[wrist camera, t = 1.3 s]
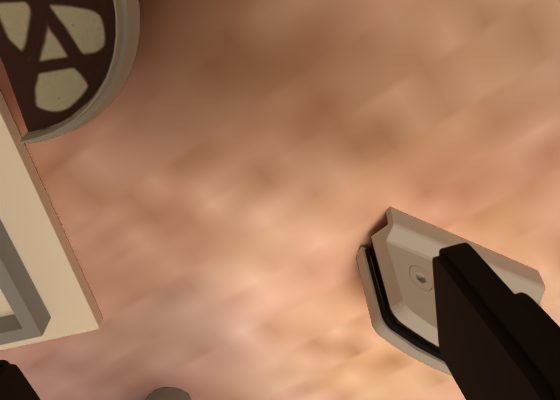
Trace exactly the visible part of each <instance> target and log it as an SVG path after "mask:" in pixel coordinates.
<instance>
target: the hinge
mask: <svg viewBox="0 0 560 400" xmlns="http://www.w3.org/2000/svg"><path fill="white" fill-rule="evenodd" d="M386 215H387V220H388V225H387V226H385V227H384V228H382V229H381V230H380V231H378V232H377V233H375V234H374V235H373V236H371V238H372V243H371V244H372V247H373V249H372V248H369V247H367V248H365V247H362V246H361V247H360V249H359V251H358V252H357V255H356V259H357V263H358V267H359V271H360V276H361V280H362V284H363V288H364V293H365V297H366V301H367V306H368V310H369V314H370V318H371V323H372V326H373V328H374V330H375V331H376V333H377V334H378V335H379V336H381V337H382V338H383V339H385V340H386V341H388V342H389V343H390V344H392V345H393V346H395V347H396V348H398V349H400V350H401V351H403V352H404V353H406V354H407V355H409V356H411V357H413V358H415V359H416V360H418V361H420V362H422V363H424V364H426V365H428V366H430V367H432V368H434V369H437V370H439V371H441V372H444V373H446V374H449V375H452V374H451V372H450V371H449V369H448V367H447V365H446V364H445V362H444V360H443V358H442V355H441V352H440V349H439V343H438V330H437V317H436V305H435V292H434V279H433V266H432V259H433V257H436V256H439V250H440V249H441V248H444V247H448V246H452V245H456V244H460V243H464V242H466V243H468V244H470V245H471V246H472V248H473V249H474V250H475V251H476V252H477V253H478V254H479V255H480V256H481V257H482V259H483V260H484V261H485V262H486V263H487V264H488V265H489V266H490V267H491V268H492V270H493V271H494V272H495V273H496V274H497V275H498V276H499V277H500V278H501V280H502V281H503V282H504V283H505V284H506V285H507V286H508V287H509V288H510V289H511V291H512V292H513V293H514V294H516V293H520V292H523V293H526V294H528V295H529V296H530V297H531V298H532V299H533V300H534V301H535V302H536V303H537V304H538V305H539V306H540V301H541V298H542V296H543V293H544V291H545V285H544V283H543V281H542V278H541V276H540V274H539V272H538V271H537V270H535V269H533V268H531V267H528V266H526V265H524V264H521V263H519V262H517V261H514V260H512V259H510V258H507V257H505V256H503V255H500V254H498V253H496V252H494V251H491V250H489V249H487V248H484V247H482V246H480V245H477V244H475V243H473V242H470V241H468V240H466V239H463V238H461V237H459V236H457V235H454V234H452V233H450V232H447V231H445V230H443V229H440V228H438V227H436V226H433V225H431V224H429V223H426V222H424V221H422V220H420V219H417V218H415V217H413V216H410V215H408V214H406V213H403V212H401V211H399V210H396V209H394V208H392V207H389V209H388V210H387V211H386ZM540 307H541V306H540Z"/></svg>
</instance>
